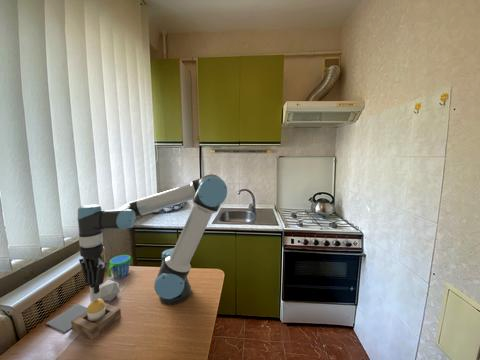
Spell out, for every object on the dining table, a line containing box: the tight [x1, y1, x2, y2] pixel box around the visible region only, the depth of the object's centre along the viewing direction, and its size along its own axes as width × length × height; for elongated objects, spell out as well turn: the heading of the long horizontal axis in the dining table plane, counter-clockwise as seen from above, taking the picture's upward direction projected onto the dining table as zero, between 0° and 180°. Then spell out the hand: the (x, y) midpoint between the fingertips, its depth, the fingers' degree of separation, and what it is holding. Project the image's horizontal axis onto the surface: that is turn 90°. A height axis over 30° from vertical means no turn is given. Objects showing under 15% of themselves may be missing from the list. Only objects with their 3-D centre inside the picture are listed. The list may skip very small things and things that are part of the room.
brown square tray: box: [71, 302, 122, 341], centre depth 86 cm, size 12×12×4 cm
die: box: [99, 279, 121, 302], centre depth 101 cm, size 8×9×10 cm
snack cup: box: [107, 254, 133, 280], centre depth 120 cm, size 16×10×10 cm
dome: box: [87, 298, 106, 323], centre depth 85 cm, size 6×6×7 cm
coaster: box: [45, 303, 88, 334], centre depth 89 cm, size 12×12×1 cm
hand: (95, 299), depth 85 cm, fingers closed
